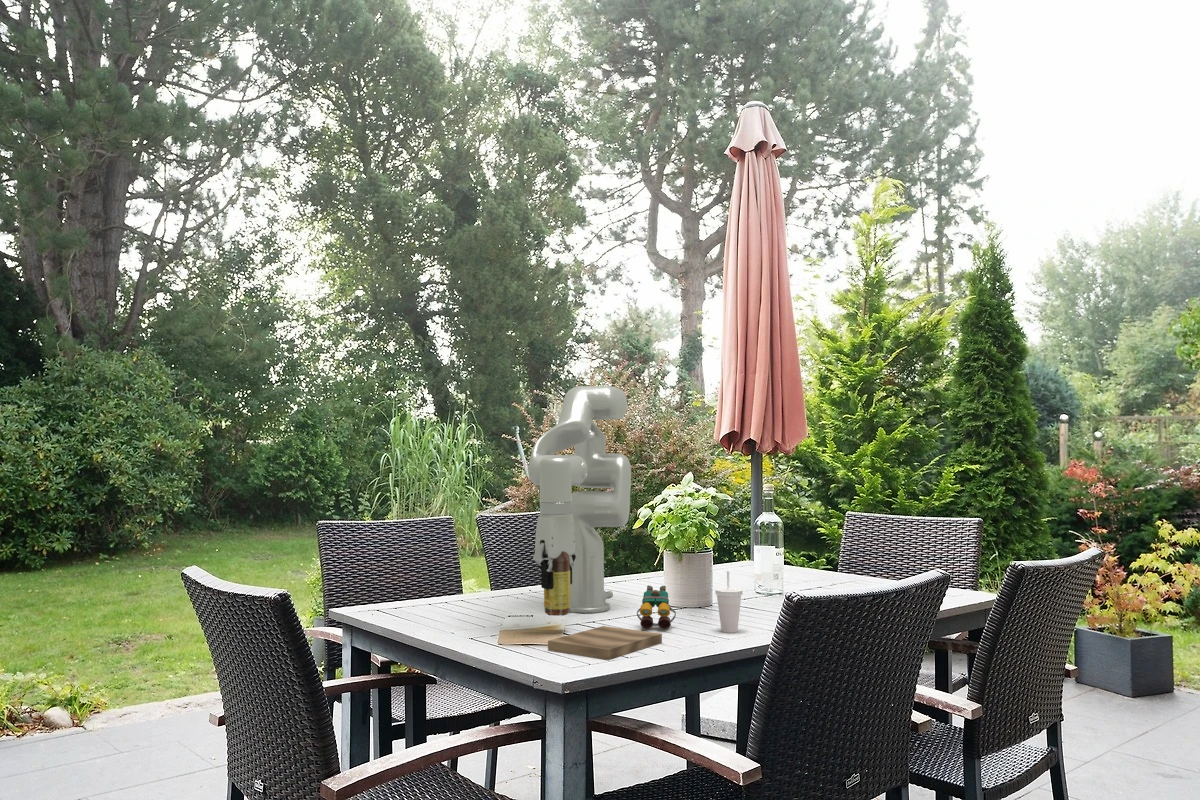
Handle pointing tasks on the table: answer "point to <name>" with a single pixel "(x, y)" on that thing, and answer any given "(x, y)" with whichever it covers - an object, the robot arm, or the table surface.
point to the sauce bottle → (559, 587)
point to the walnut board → (605, 642)
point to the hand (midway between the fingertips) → (556, 585)
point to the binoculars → (664, 608)
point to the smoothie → (729, 607)
